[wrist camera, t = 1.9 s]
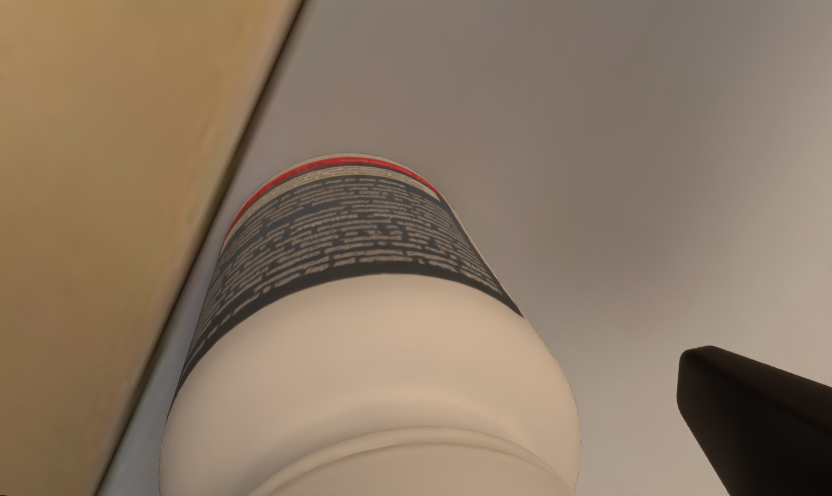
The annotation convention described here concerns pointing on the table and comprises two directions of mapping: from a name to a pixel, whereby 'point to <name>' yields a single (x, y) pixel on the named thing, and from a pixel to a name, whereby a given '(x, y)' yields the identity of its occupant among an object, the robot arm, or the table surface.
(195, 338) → the pill bottle
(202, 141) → the table surface
